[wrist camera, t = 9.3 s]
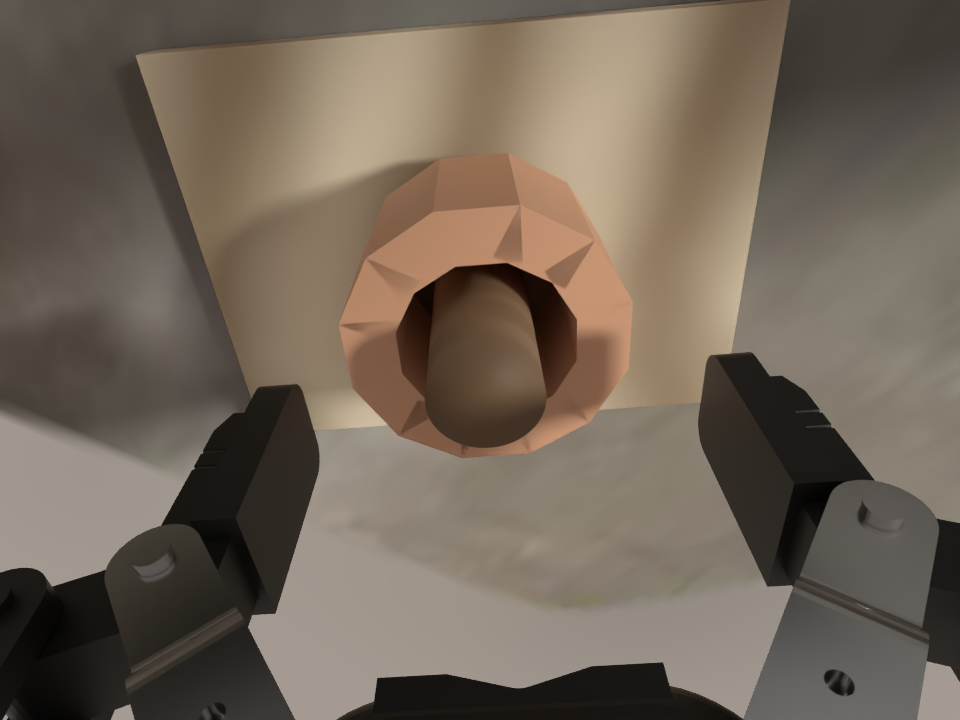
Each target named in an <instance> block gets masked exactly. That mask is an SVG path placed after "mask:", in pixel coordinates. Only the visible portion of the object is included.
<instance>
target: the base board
mask: <svg viewBox="0 0 960 720" xmlns="http://www.w3.org/2000/svg"><path fill="white" fill-rule="evenodd" d="M790 2H791V0H725V1H714V2H702V3H691V4H679V5H667V6H656V7H644V8H633V9H621V10H610V11H598V12H586V13H575V14H563V15H552V16H540V17H528V18H517V19H505V20H494V21H482V22H471V23H459V24H447V25H436V26H424V27H413V28H401V29H390V30H378V31H366V32H355V33H343V34H332V35H320V36H308V37H297V38H285V39H274V40H262V41H251V42H239V43H227V44H216V45H204V46H193V47H181V48H169V49H158V50H153V51H149V52H145V53H142V54H138V55H135V56H136V59H137V61H138V64H139V67H140V70H141V73H142V76H143V79H144V82H145V85H146V88H147V91H148V94H149V97H150V100H151V103H152V106H153V109H154V112H155V115H156V118H157V121H158V124H159V127H160V130H161V133H162V136H163V139H164V142H165V145H166V148H167V150H168V153H169V156H170V159H171V162H172V165H173V168H174V171H175V174H176V177H177V180H178V183H179V186H180V189H181V192H182V195H183V198H184V201H185V204H186V207H187V210H188V213H189V216H190V219H191V222H192V225H193V228H194V231H195V234H196V237H197V239H198V242H199V245H200V248H201V251H202V254H203V257H204V260H205V263H206V266H207V269H208V272H209V275H210V278H211V281H212V284H213V287H214V290H215V293H216V296H217V299H218V302H219V305H220V308H221V311H222V314H223V317H224V320H225V323H226V326H227V329H228V331H229V334H230V337H231V340H232V343H233V346H234V349H235V352H236V355H237V358H238V361H239V364H240V367H241V370H242V373H243V376H244V379H245V382H246V385H247V388H248V391H249V394H250V397H251V399H252V397H253V395H254V393H255V391H256V389H257V388H258V387H262V386H275V385H289V384H298V385H299V386H300V387H301V389H302V391H303V394H304V398H305V401H306V405H307V408H308V411H309V415H310V418H311V422H312V425H313V429H314V431H315V430H329V429H343V428H356V427H370V426H384V425H388V424H387V423H386V422H385V421H384V420H383V419H382V418H381V417H380V416H379V415H378V414H377V413H376V412H375V411H374V410H373V409H372V408H371V407H370V406H369V405H368V404H367V403H366V402H365V401H364V400H363V399H362V398H361V397H360V396H359V395H358V394H357V393H356V392H355V391H354V390H353V388H352V383H351V379H350V374H349V370H348V365H347V361H346V356H345V352H344V348H343V343H342V339H341V334H340V330H339V325H338V324H339V321H340V318H341V315H342V312H343V310H344V307H345V304H346V301H347V298H348V295H349V292H350V290H351V287H352V284H353V281H354V278H355V275H356V272H357V269H358V267H359V264H360V261H361V258H362V255H363V252H364V250H365V248H366V245H367V243H368V240H369V238H370V235H371V233H372V230H373V228H374V225H375V223H376V221H377V218H378V216H379V213H380V211H381V208H382V206H383V203H384V201H385V199H386V197H387V196H388V195H389V194H391V193H392V192H394V191H395V190H396V189H398V188H399V187H401V186H402V185H403V184H405V183H406V182H408V181H409V180H410V179H412V178H413V177H415V176H416V175H417V174H419V173H420V172H422V171H423V170H424V169H426V168H427V167H429V166H430V165H431V164H433V163H434V162H436V161H437V160H438V159H440V158H453V157H465V156H477V155H490V154H502V153H509V154H511V155H513V156H515V157H517V158H519V159H521V160H523V161H525V162H527V163H529V164H531V165H533V166H535V167H537V168H539V169H541V170H543V171H545V172H547V173H549V174H551V175H553V176H555V177H557V178H559V179H561V180H563V181H565V182H567V183H568V185H569V186H570V188H571V190H572V191H573V193H574V195H575V196H576V198H577V199H578V201H579V203H580V204H581V206H582V208H583V209H584V211H585V213H586V214H587V216H588V218H589V219H590V221H591V223H592V224H593V226H594V227H595V229H596V231H597V232H598V234H599V236H600V238H601V240H602V242H603V244H604V246H605V248H606V250H607V252H608V254H609V256H610V258H611V260H612V262H613V264H614V266H615V268H616V270H617V271H618V273H619V275H620V277H621V279H622V281H623V283H624V285H625V287H626V289H627V291H628V293H629V295H630V297H631V299H632V301H633V309H632V324H631V340H630V355H629V369H628V370H627V371H626V373H625V374H624V376H623V377H622V378H621V380H620V381H619V382H618V384H617V385H616V387H615V388H614V389H613V391H612V392H611V394H610V395H609V396H608V398H607V399H606V400H605V402H604V403H603V405H602V406H601V407H600V409H599V410H602V409H616V408H630V407H643V406H657V405H671V404H685V403H698V402H701V397H702V389H703V382H704V375H705V367H706V362H707V359H708V357H709V356H710V355H718V354H731V351H732V345H733V339H734V333H735V327H736V321H737V315H738V309H739V304H740V298H741V292H742V286H743V280H744V274H745V268H746V262H747V256H748V250H749V244H750V238H751V233H752V227H753V221H754V215H755V209H756V203H757V197H758V191H759V185H760V179H761V173H762V167H763V161H764V156H765V150H766V144H767V138H768V132H769V126H770V120H771V114H772V108H773V102H774V96H775V90H776V84H777V79H778V73H779V67H780V61H781V55H782V49H783V43H784V37H785V31H786V25H787V19H788V13H789V7H790Z"/></svg>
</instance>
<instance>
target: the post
mask: <svg viewBox="0 0 960 720" xmlns="http://www.w3.org/2000/svg"><path fill="white" fill-rule="evenodd" d="M553 287H554V285H553V283H551V282H549V281H547V280H545V279H542V278H540V277H538V276H536V275H533V274H531V273H529V272H527V271H524V270H522V269H520V268H518V267H515V266H513V265H511V264H509V263H497V264H484V265H472V266H459V267H454V268H453V269H451V270H449V271H448V272H446V273H445V274H443V275H442V276H440V277H439V278H437V279H436V280H434V281H432V282H431V283H429V284H428V285H426V286H425V287H423V288H422V289H420V290H419V291H417V292H416V293H414V296H415V297H416V299H417V300H418V301H419V302H420V303H421V305H422V306H423V307H424V308H425V309H426V311H427V312H428V313H429V314H430V316H431V317H432V323H431V334H430V345H429V357H428V368H427V379H426V390H425V407H426V412H427V414H428V417H429V419H430V420H431V422H432V424H433V425H434V426H435V427H436V429H437V430H438V431H439V432H440V433H442V434H443V435H444V436H446V437H447V438H449V439H451V440H452V441H454V442H457V443H459V444H462V445H465V446H470V447H476V448H493V447H499V446H504V445H507V444H510V443H512V442H515V441H517V440H519V439H520V438H522V437H524V436H525V435H526V434H528V433H529V432H530V431H531V430H532V429H533V428H534V427H535V426H536V425H537V424H538V422H539V421H540V419H541V417H542V415H543V413H544V410H545V406H546V398H547V396H546V388H545V383H544V378H543V373H542V368H541V362H540V357H539V352H538V347H537V342H536V337H535V332H534V327H533V321H532V317H534V316H536V315H537V314H538V312H539V310H540V309H541V307H542V305H543V304H544V302H545V300H546V298H547V297H548V295H549V293H550V292H551V290H552V288H553Z"/></svg>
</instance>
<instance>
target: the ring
mask: <svg viewBox="0 0 960 720" xmlns="http://www.w3.org/2000/svg"><path fill="white" fill-rule="evenodd" d="M497 263H509V264H511V265H513V266H515V267H518V268H520V269H522V270H524V271H527V272H529V273H531V274H533V275H536V276H538V277H540V278H542V279H545V280H547V281H549V282H551V283H553V285H554V287H553V288H552V290H551V292H550V293H549V295H548V297H547V298H546V300H545V302H544V304H543V305H542V307H541V309H540V310H539V312H538V314H537V315H536V316H534V317H532V321H533V327H534V332H535V337H536V342H537V347H538V352H539V357H540V362H541V368H542V373H543V378H544V383H545V388H546V396H547V398H546V406H545V410H544V413H543V415H542V417H541V419H540V421H539V422H538V424H537V425H536V426H535V427H534V428H533V429H532V430H531V431H530V432H529V433H528V434H526V435H525V436H524V437H522V438H520V439H519V440H517V441H515V442H512V443H510V444H507V445H504V446H499V447H493V448H476V447H470V446H465V445H462V444H459V443H457V442H454V441H452V440H451V439H449V438H447V437H446V436H444V435H443V434H442V433H440V432H439V431H438V430H437V429H436V427H435V426H434V425H433V424H432V422H431V420H430V419H429V417H428V414H427V412H426V407H425V390H426V379H427V368H428V357H429V345H430V334H431V323H432V317H431V316H430V314H429V313H428V312H427V311H426V309H425V308H424V307H423V306H422V305H421V303H420V302H419V301H418V300H417V299H416V297H415V296H414V293H416V292H417V291H419V290H420V289H422V288H423V287H425V286H426V285H428V284H429V283H431V282H432V281H434V280H436V279H437V278H439V277H440V276H442V275H443V274H445V273H446V272H448V271H449V270H451V269H453V268H454V267H459V266H472V265H484V264H497ZM632 309H633V301H632V299H631V297H630V295H629V293H628V291H627V289H626V287H625V285H624V283H623V281H622V279H621V277H620V275H619V273H618V271H617V270H616V268H615V266H614V264H613V262H612V260H611V258H610V256H609V254H608V252H607V250H606V248H605V246H604V244H603V242H602V240H601V238H600V236H599V234H598V232H597V231H596V229H595V227H594V226H593V224H592V223H591V221H590V219H589V218H588V216H587V214H586V213H585V211H584V209H583V208H582V206H581V204H580V203H579V201H578V199H577V198H576V196H575V195H574V193H573V191H572V190H571V188H570V186H569V185H568V183H567V182H565V181H563V180H561V179H559V178H557V177H555V176H553V175H551V174H549V173H547V172H545V171H543V170H541V169H539V168H537V167H535V166H533V165H531V164H529V163H527V162H525V161H523V160H521V159H519V158H517V157H515V156H513V155H511V154H509V153H502V154H490V155H477V156H465V157H453V158H440V159H438V160H437V161H436V162H434V163H433V164H431V165H430V166H429V167H427V168H426V169H424V170H423V171H422V172H420V173H419V174H417V175H416V176H415V177H413V178H412V179H410V180H409V181H408V182H406V183H405V184H403V185H402V186H401V187H399V188H398V189H396V190H395V191H394V192H392V193H391V194H389V195H388V196H387V197H386V199H385V201H384V203H383V206H382V208H381V211H380V213H379V216H378V218H377V221H376V223H375V225H374V228H373V230H372V233H371V235H370V238H369V240H368V243H367V245H366V248H365V250H364V252H363V255H362V258H361V261H360V264H359V267H358V269H357V272H356V275H355V278H354V281H353V284H352V287H351V290H350V292H349V295H348V298H347V301H346V304H345V307H344V310H343V312H342V315H341V318H340V321H339V324H338V325H339V330H340V334H341V339H342V343H343V348H344V352H345V356H346V361H347V365H348V370H349V374H350V379H351V383H352V388H353V390H354V391H355V392H356V393H357V394H358V395H359V396H360V397H361V398H362V399H363V400H364V401H365V402H366V403H367V404H368V405H369V406H370V407H371V408H372V409H373V410H374V411H375V412H376V413H377V414H378V415H379V416H380V417H381V418H382V419H383V420H384V421H385V422H386V423H387V424H388V425H389V426H390V427H391V428H392V429H393V431H394V432H395V433H396V434H397V435H398V436H401V437H404V438H406V439H409V440H412V441H415V442H418V443H421V444H424V445H427V446H429V447H432V448H435V449H438V450H441V451H444V452H447V453H449V454H452V455H455V456H458V457H461V458H468V457H482V456H496V455H510V454H524V453H531V452H533V451H535V450H537V449H539V448H541V447H543V446H545V445H547V444H549V443H550V442H552V441H554V440H556V439H558V438H560V437H562V436H564V435H566V434H568V433H570V432H572V431H574V430H575V429H577V428H579V427H581V426H583V425H585V424H587V423H589V422H590V421H591V420H592V418H593V417H594V416H595V414H596V413H597V412H598V410H599V409H600V407H601V406H602V405H603V403H604V402H605V400H606V399H607V398H608V396H609V395H610V394H611V392H612V391H613V389H614V388H615V387H616V385H617V384H618V382H619V381H620V380H621V378H622V377H623V376H624V374H625V373H626V371H627V370H628V369H629V355H630V340H631V324H632Z"/></svg>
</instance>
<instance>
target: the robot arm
mask: <svg viewBox="0 0 960 720" xmlns="http://www.w3.org/2000/svg"><path fill="white" fill-rule="evenodd" d="M698 428H699V437H700V442H701V445H702V448H703V451H704V453H705V455H706V457H707V459H708V462H709V464H710V466H711V468H712V470H713V472H714V474H715V476H716V478H717V481H718V483H719V485H720V487H721V489H722V491H723V493H724V495H725V498H726V500H727V502H728V504H729V506H730V508H731V510H732V512H733V515H734V517H735V519H736V521H737V523H738V525H739V527H740V529H741V531H742V534H743V536H744V538H745V540H746V542H747V544H748V546H749V548H750V551H751V553H752V555H753V557H754V559H755V561H756V563H757V565H758V567H759V570H760V572H761V574H762V576H763V578H764V580H765V582H766V584H767V586H768V587H769V586H786V585H792V586H793V589H792V592H791V594H790V597H789V600H788V603H787V605H786V608H785V610H784V613H783V616H782V618H781V621H780V623H779V626H778V629H777V631H776V634H775V637H774V639H773V642H772V645H771V647H770V650H769V653H768V655H767V658H766V661H765V663H764V666H763V668H762V671H761V674H760V676H759V679H758V682H757V684H756V687H755V690H754V692H753V695H752V698H751V700H750V703H749V706H748V708H747V711H746V714H745V716H744V719H742V718H741V717H739V716H738V715H736V714H735V713H734V712H732V711H730V710H728V709H727V708H725V707H723V706H722V705H720V704H718V703H716V702H714V701H712V700H710V699H708V698H705V697H703V696H701V695H699V694H696V693H693V692H690V691H687V690H684V689H681V688H676V687H672V686H669V683H668V679H667V676H666V672H665V668H664V665H663V663H645V664H627V665H609V666H592V667H589V668H586V669H582V670H580V671H576V672H573V673H570V674H567V675H564V676H561V677H558V678H555V679H552V680H549V681H545V682H542V683H539V684H536V685H533V686H530V687H526V688H519V689H517V688H510V687H505V686H501V685H496V684H491V683H486V682H481V681H476V680H471V679H467V678H462V677H457V676H452V675H447V674H444V675H425V676H407V677H391V678H390V677H388V678H377V686H376V692H375V700H374V702H372V703H369V704H366V705H364V706H361V707H359V708H357V709H355V710H353V711H351V712H348V713H347V714H345V715H343V716H342V717H340V718H338V719H337V720H917V716H918V710H919V704H920V698H921V692H922V686H923V680H924V674H925V668H926V661H929V662H933V663H937V664H941V665H946V666H950V667H951V668H952V670H953V671H954V673H955V675H956V676H957V678H958V680H959V681H960V523H956V522H950V521H945V520H940V519H936V517H935V515H934V514H933V513H932V511H931V510H930V509H929V508H928V507H927V506H926V505H925V504H924V503H923V502H922V501H921V500H919V499H918V498H917V497H915V496H913V495H912V494H910V493H908V492H907V491H905V490H902V489H900V488H898V487H895V486H893V485H890V484H886V483H883V482H878V481H875V480H874V479H873V477H872V476H871V475H870V474H869V472H868V471H867V470H866V468H865V467H864V466H863V465H862V463H861V462H860V461H859V459H858V458H857V457H856V456H855V454H854V453H853V452H852V450H851V449H850V448H849V447H848V445H847V444H846V443H845V441H844V440H843V439H842V438H841V436H840V435H839V434H838V432H837V431H836V430H835V429H834V428H831V423H830V422H829V421H828V420H827V418H826V417H825V416H824V414H823V413H820V412H819V408H818V407H817V405H816V404H815V403H814V401H813V400H812V399H811V398H810V396H809V395H808V394H807V392H806V391H805V390H803V389H802V388H800V387H799V386H797V385H795V384H794V383H792V382H791V381H789V380H788V379H786V378H785V377H783V376H771V377H770V376H769V375H768V373H767V372H766V370H765V369H764V368H763V366H762V365H761V363H760V362H759V361H758V359H757V358H756V356H755V355H754V354H753V353H751V352H746V353H732V354H718V355H710V356H709V357H708V359H707V362H706V367H705V375H704V382H703V389H702V397H701V404H700V411H699V419H698ZM194 467H195V469H194V470H192V471H191V473H190V475H189V477H188V478H187V480H186V482H185V484H184V486H183V487H182V489H181V491H180V493H179V495H178V496H177V498H176V500H175V502H174V503H173V505H172V507H171V509H170V511H169V513H168V514H167V516H166V518H165V520H164V522H163V523H162V525H161V526H159V527H156V528H153V529H150V530H148V531H146V532H144V533H142V534H140V535H138V536H136V537H135V538H133V539H132V540H130V541H129V542H128V543H126V544H125V545H124V546H123V547H122V548H120V549H119V550H118V552H117V553H116V554H115V555H114V556H113V558H112V559H111V560H110V562H109V564H108V566H107V569H106V570H104V571H101V572H98V573H95V574H92V575H88V576H85V577H82V578H79V579H75V580H72V581H69V582H66V583H63V584H59V585H56V586H53V587H52V586H51V585H50V583H49V582H48V580H47V579H46V577H45V576H44V575H43V573H41V572H40V571H38V570H36V569H31V568H17V569H11V570H8V571H4V572H1V573H0V720H2V719H3V718H4V716H5V714H6V715H7V716H8V719H7V720H111V717H112V715H113V713H114V710H115V709H118V708H121V707H124V706H126V705H129V704H130V705H131V708H132V712H133V715H134V719H135V720H295V718H294V716H293V715H292V712H291V711H290V709H289V707H288V705H287V703H286V701H285V699H284V697H283V695H282V693H281V691H280V689H279V687H278V685H277V683H276V681H275V679H274V677H273V675H272V674H271V671H270V670H269V668H268V666H267V664H266V662H265V660H264V658H263V656H262V654H261V652H260V650H259V648H258V646H257V644H256V642H255V640H254V638H253V636H252V634H251V632H250V630H249V629H248V625H249V623H250V620H251V616H252V615H258V614H275V613H276V610H277V606H278V603H279V600H280V597H281V593H282V590H283V587H284V583H285V580H286V577H287V573H288V571H289V567H290V564H291V561H292V557H293V554H294V551H295V548H296V544H297V541H298V538H299V535H300V531H301V528H302V525H303V521H304V518H305V515H306V512H307V508H308V505H309V502H310V499H311V495H312V492H313V489H314V485H315V482H316V479H317V476H318V471H319V448H318V443H317V439H316V436H315V432H314V429H313V425H312V422H311V418H310V415H309V411H308V408H307V405H306V401H305V398H304V394H303V391H302V389H301V387H300V386H299V385H298V384H289V385H275V386H262V387H258V388H257V389H256V391H255V393H254V395H253V397H252V399H251V401H250V403H249V405H248V407H247V409H246V411H245V413H234V414H232V415H231V416H230V417H229V418H228V419H227V420H226V421H225V422H223V423H222V424H221V425H220V426H219V427H218V428H217V429H216V430H214V432H213V433H212V435H211V437H210V439H209V441H208V442H207V444H206V446H205V448H204V450H203V454H201V455H200V457H199V459H198V460H197V462H196V464H195V466H194Z"/></svg>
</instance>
